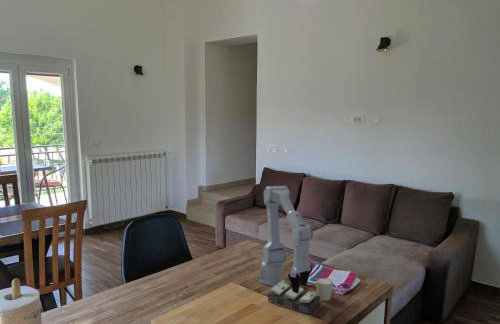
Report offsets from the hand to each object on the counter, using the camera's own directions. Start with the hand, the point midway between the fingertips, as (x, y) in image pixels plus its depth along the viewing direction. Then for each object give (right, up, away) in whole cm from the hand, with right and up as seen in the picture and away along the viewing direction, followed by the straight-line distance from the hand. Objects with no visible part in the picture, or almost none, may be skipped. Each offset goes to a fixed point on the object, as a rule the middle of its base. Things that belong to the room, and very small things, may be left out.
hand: (299, 288), depth 147 cm
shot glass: (+11, -6, +7) cm, 15 cm away
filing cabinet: (-2, -6, +2) cm, 7 cm away
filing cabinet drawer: (-2, -2, +1) cm, 3 cm away
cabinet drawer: (+4, -3, -2) cm, 5 cm away
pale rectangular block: (-7, -2, +5) cm, 9 cm away
